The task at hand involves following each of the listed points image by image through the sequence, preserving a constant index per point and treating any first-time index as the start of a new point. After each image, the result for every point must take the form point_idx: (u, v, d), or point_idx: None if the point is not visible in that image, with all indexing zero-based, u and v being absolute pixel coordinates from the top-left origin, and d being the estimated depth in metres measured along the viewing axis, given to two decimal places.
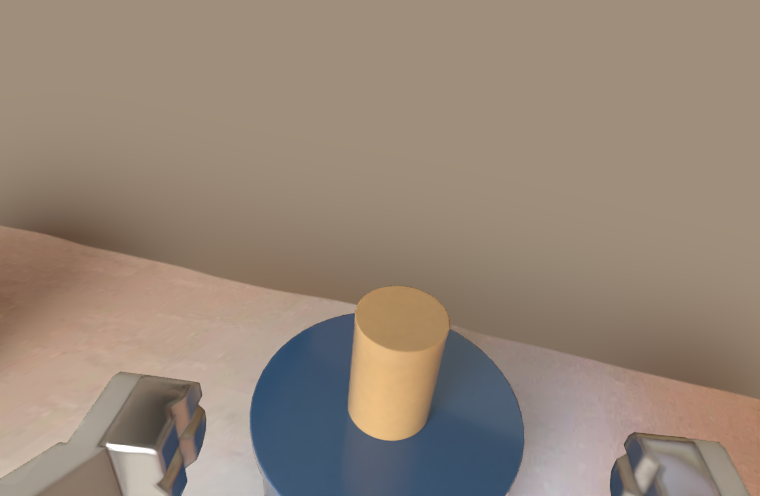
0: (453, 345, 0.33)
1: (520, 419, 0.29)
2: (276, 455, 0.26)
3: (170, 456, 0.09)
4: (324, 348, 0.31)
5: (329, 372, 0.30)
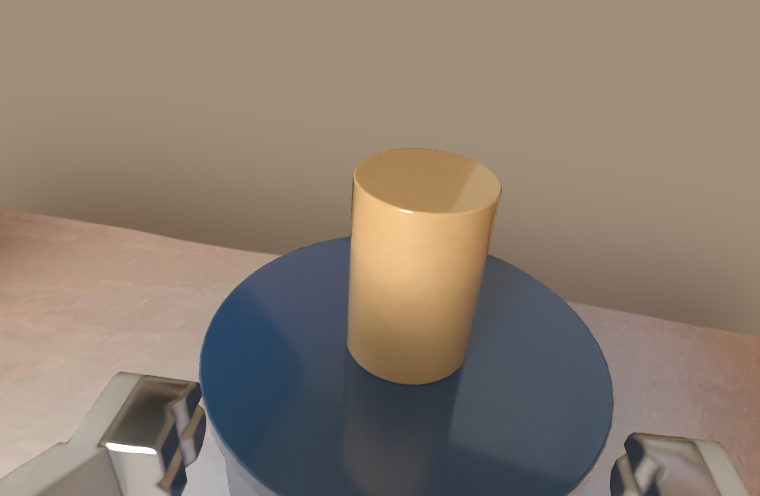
0: (489, 268, 0.24)
1: (599, 352, 0.20)
2: (238, 409, 0.16)
3: (170, 456, 0.09)
4: (311, 275, 0.22)
5: (318, 302, 0.21)
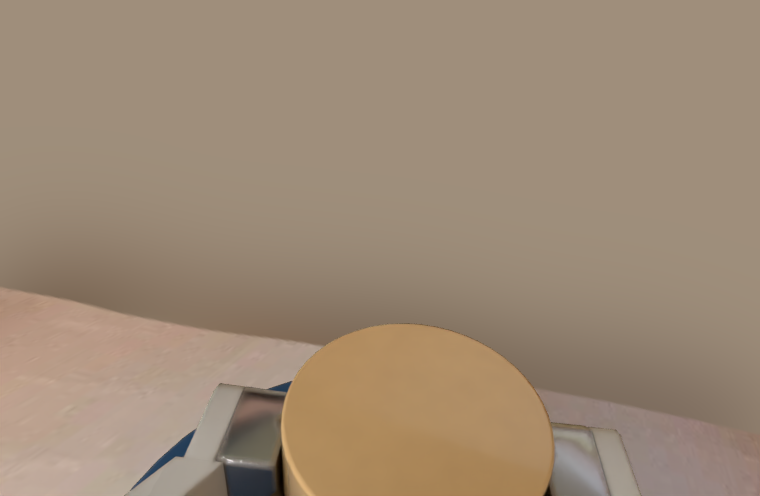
0: None
1: None
2: None
3: (280, 469, 0.09)
4: None
5: None
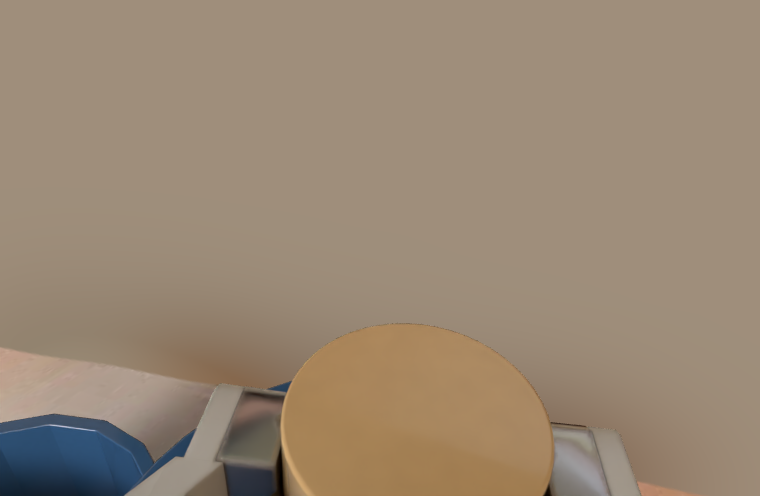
0: None
1: None
2: None
3: (280, 469, 0.09)
4: None
5: None
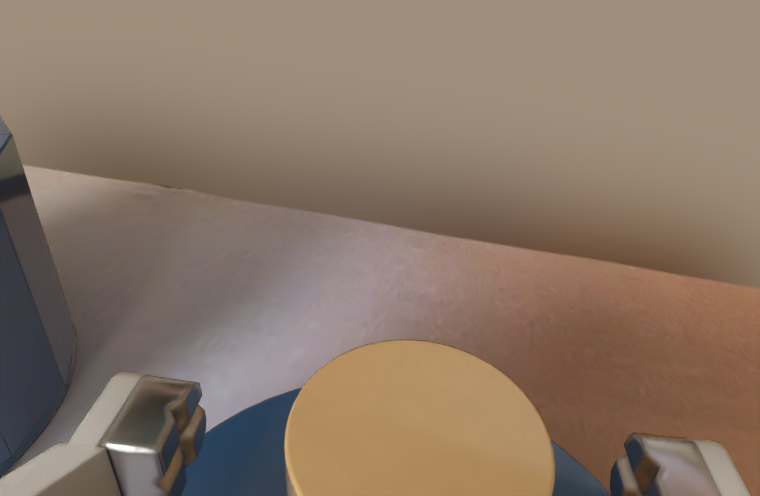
0: None
1: None
2: None
3: (170, 456, 0.09)
4: (252, 467, 0.15)
5: None
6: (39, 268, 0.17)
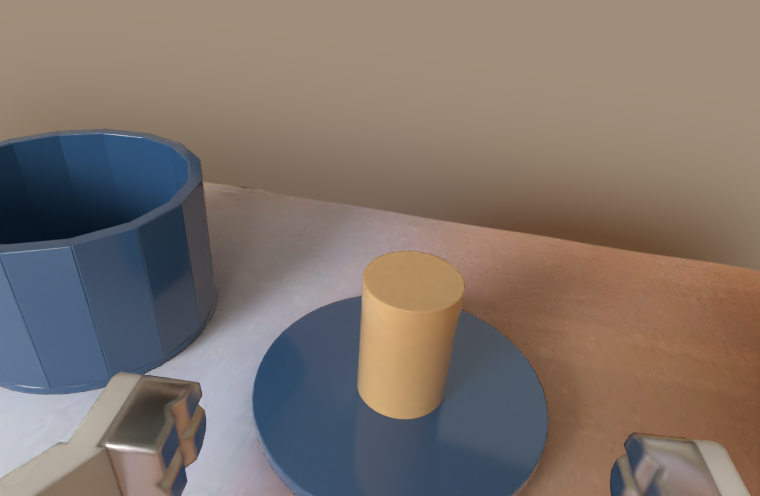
0: (465, 324, 0.31)
1: (542, 393, 0.27)
2: (282, 438, 0.24)
3: (170, 456, 0.09)
4: (329, 331, 0.30)
5: (335, 354, 0.28)
6: (209, 231, 0.31)
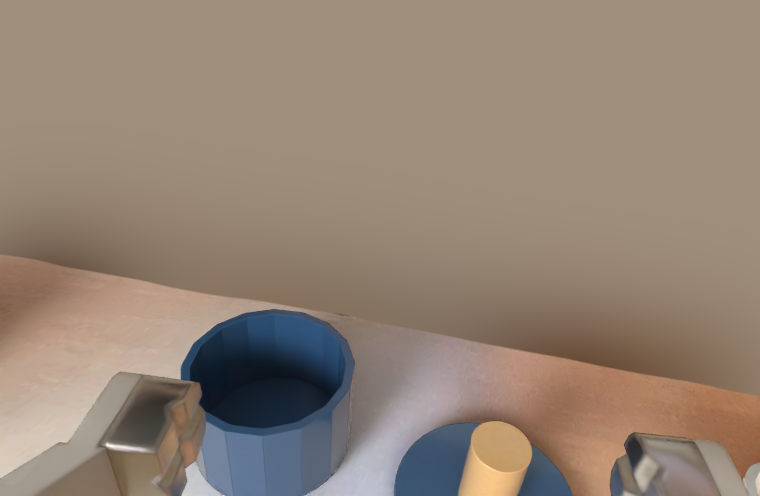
0: None
1: None
2: None
3: (170, 456, 0.09)
4: (433, 455, 0.45)
5: (441, 474, 0.44)
6: None
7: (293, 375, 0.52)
